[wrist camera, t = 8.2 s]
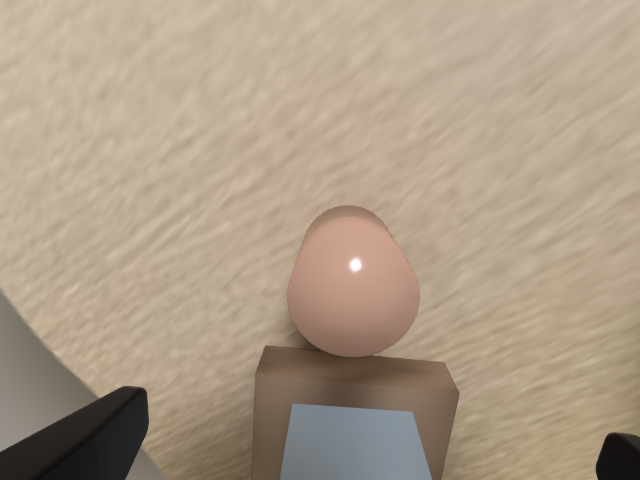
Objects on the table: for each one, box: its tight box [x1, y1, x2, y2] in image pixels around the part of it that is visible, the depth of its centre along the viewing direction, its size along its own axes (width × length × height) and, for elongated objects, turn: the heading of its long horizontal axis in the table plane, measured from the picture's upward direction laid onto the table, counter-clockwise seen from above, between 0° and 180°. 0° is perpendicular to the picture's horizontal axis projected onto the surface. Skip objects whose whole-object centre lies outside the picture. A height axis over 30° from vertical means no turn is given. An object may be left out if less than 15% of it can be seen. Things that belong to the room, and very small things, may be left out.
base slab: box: [252, 346, 460, 480], centre depth 20 cm, size 10×10×2 cm
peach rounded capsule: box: [287, 206, 420, 357], centre depth 15 cm, size 5×5×6 cm
